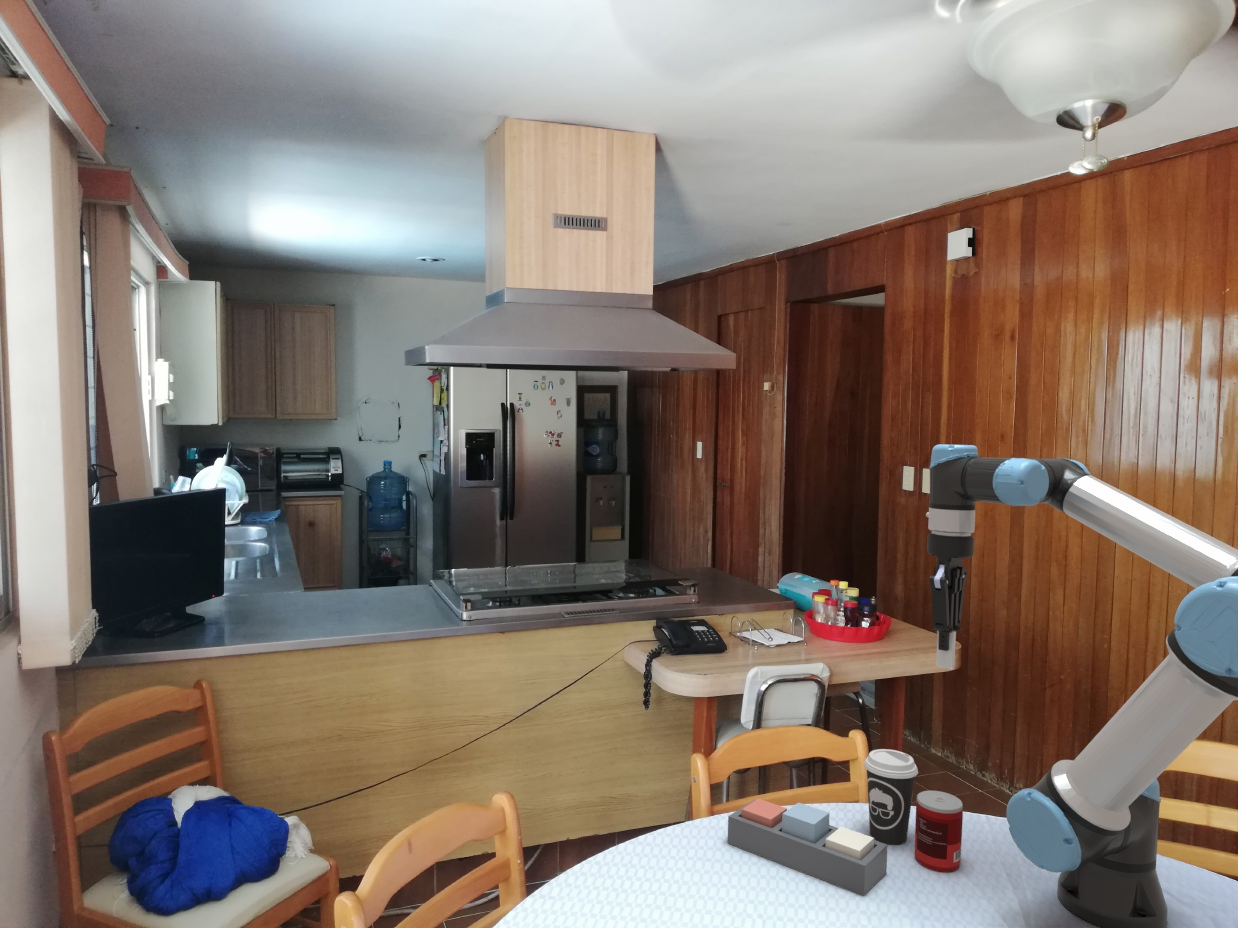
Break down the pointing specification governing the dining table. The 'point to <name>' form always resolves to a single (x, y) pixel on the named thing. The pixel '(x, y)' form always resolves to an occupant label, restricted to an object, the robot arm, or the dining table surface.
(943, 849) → the canned food
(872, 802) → the coffee cup
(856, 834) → the key ivory
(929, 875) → the dining table surface
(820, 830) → the key blue
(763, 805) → the key brick
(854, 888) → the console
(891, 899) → the dining table surface
